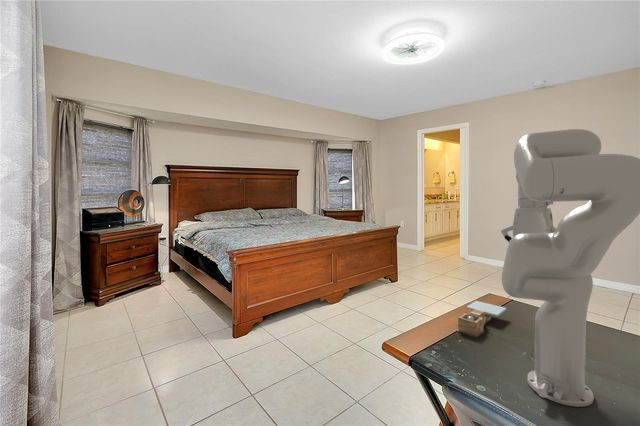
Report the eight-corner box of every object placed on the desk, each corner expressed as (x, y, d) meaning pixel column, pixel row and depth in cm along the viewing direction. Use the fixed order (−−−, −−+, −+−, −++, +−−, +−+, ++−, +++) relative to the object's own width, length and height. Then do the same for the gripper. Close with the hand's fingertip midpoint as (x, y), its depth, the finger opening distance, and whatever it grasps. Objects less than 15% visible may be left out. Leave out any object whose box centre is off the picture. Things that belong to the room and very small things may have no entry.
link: (476, 335, 99) (476, 321, 99) (458, 330, 104) (458, 316, 103) (496, 320, 111) (496, 307, 110) (479, 315, 115) (479, 303, 115)
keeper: (497, 325, 106) (497, 315, 106) (466, 316, 115) (466, 306, 115) (506, 318, 112) (506, 308, 112) (476, 310, 121) (475, 300, 120)
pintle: (476, 337, 99) (476, 323, 98) (455, 330, 104) (455, 316, 104) (485, 330, 103) (485, 316, 103) (464, 324, 108) (464, 311, 108)
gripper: (569, 203, 90) (569, 259, 90) (505, 204, 102) (505, 252, 103) (565, 204, 85) (564, 263, 85) (497, 204, 97) (498, 256, 98)
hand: (532, 257), depth 94 cm, fingers open, 9 cm apart
